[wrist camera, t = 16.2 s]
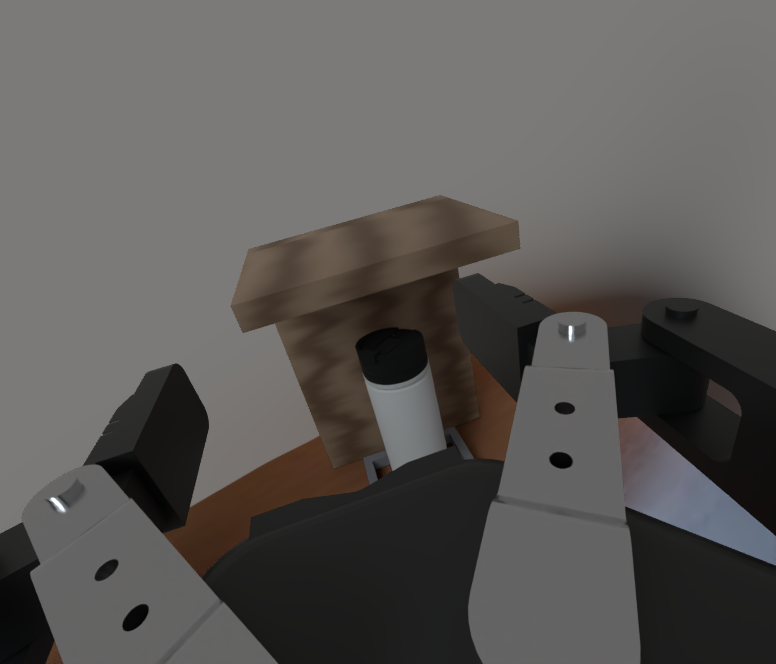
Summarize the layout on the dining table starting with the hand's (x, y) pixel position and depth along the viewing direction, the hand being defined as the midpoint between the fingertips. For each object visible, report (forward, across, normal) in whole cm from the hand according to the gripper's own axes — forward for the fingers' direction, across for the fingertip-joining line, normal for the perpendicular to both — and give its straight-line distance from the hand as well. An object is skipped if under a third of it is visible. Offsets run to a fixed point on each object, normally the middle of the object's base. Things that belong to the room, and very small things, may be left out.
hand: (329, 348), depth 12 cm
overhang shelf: (+22, -5, +31) cm, 39 cm away
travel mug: (+20, -4, +32) cm, 38 cm away
